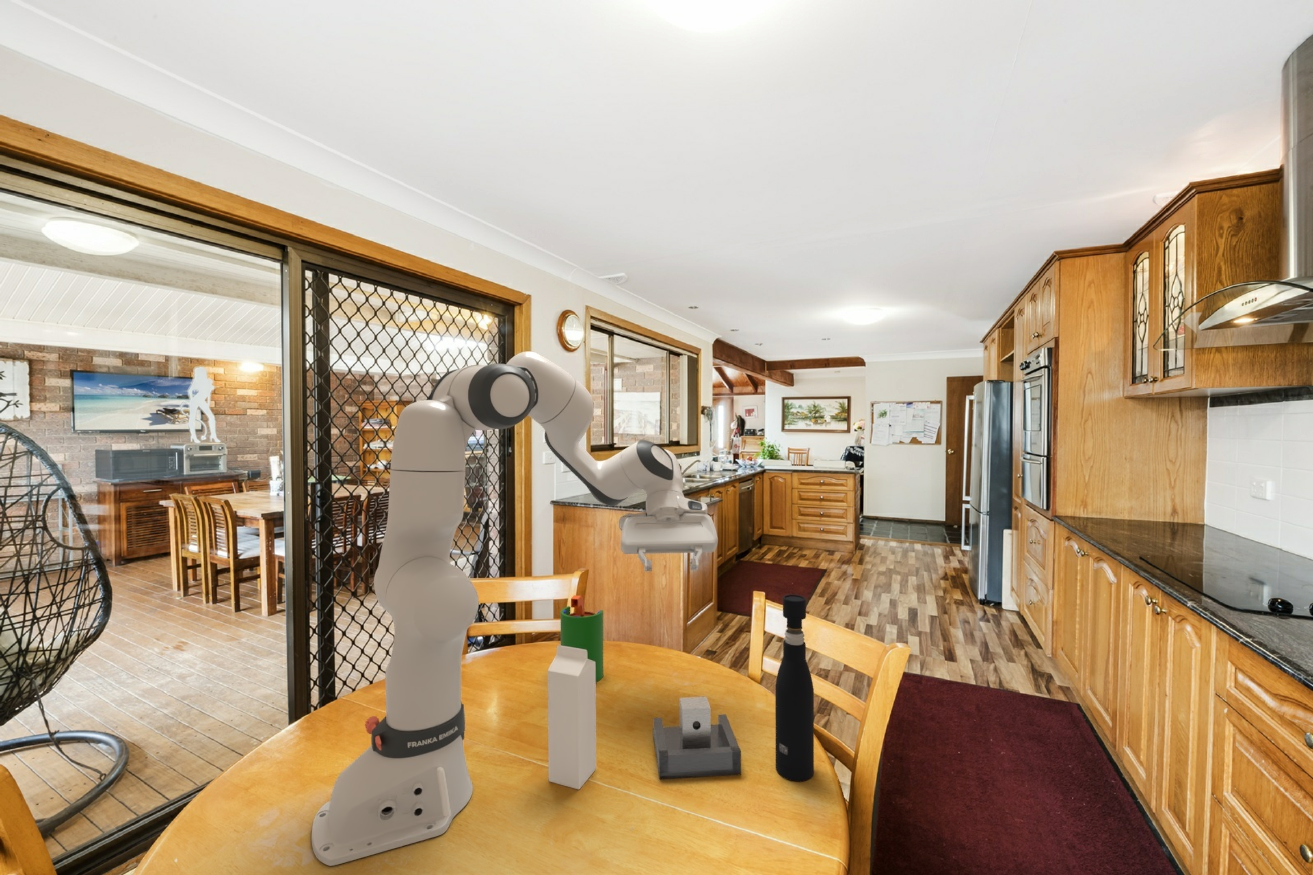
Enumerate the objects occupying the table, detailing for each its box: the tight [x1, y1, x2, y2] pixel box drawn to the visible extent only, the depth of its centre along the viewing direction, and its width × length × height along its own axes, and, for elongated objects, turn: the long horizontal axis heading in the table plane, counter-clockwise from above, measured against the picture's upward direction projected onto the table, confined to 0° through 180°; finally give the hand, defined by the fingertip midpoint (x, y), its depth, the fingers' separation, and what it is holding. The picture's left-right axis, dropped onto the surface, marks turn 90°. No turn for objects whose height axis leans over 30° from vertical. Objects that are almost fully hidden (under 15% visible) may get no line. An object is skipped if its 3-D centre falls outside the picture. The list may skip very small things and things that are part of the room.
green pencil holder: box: [560, 594, 604, 683], centre depth 129 cm, size 10×9×20 cm
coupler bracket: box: [652, 714, 742, 780], centre depth 99 cm, size 14×14×4 cm
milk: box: [547, 644, 597, 790], centre depth 92 cm, size 6×6×22 cm
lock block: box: [679, 696, 712, 750], centre depth 97 cm, size 4×5×9 cm
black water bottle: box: [774, 594, 815, 783], centre depth 93 cm, size 6×6×30 cm
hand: (671, 569), depth 108 cm, fingers open, 8 cm apart
